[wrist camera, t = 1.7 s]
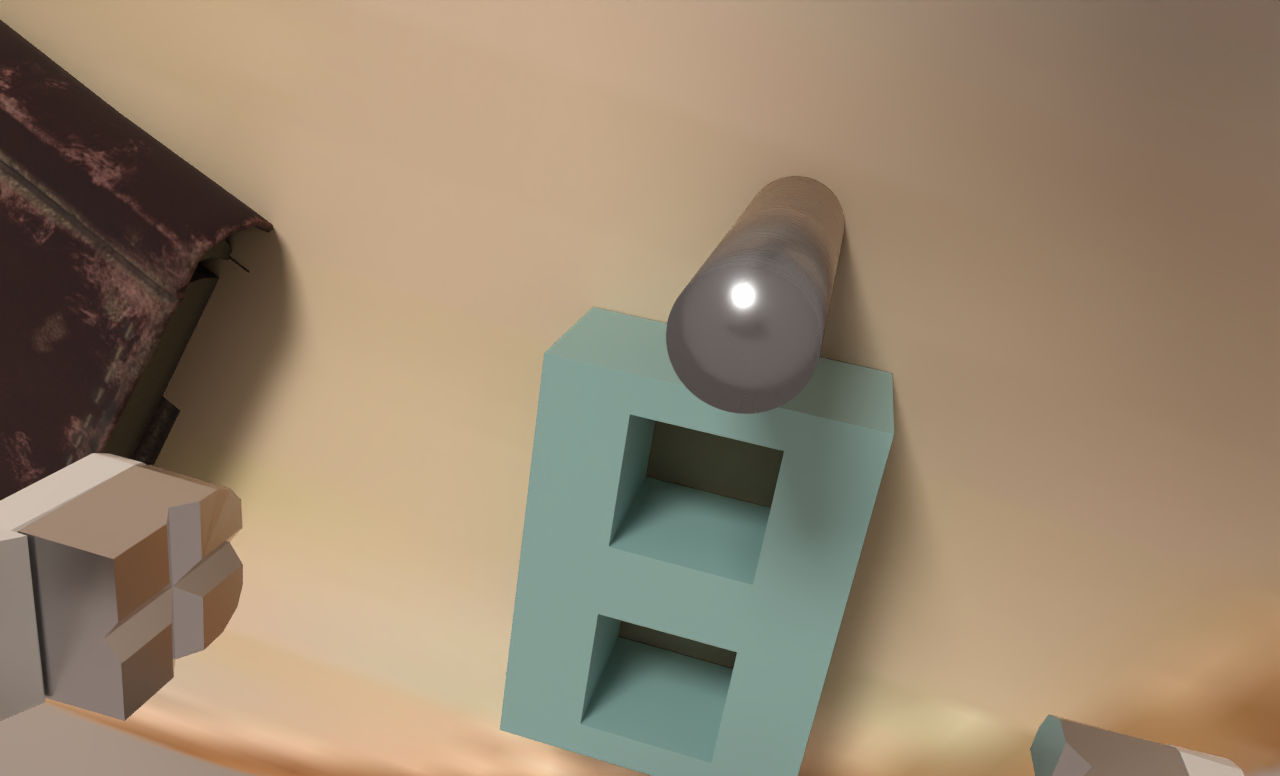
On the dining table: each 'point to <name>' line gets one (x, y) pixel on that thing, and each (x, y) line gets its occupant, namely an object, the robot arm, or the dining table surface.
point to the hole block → (684, 561)
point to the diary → (93, 271)
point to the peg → (760, 301)
